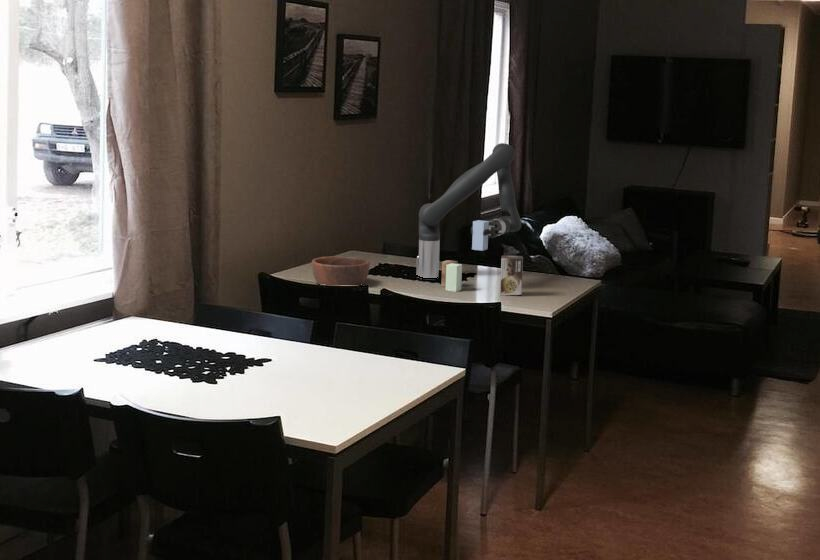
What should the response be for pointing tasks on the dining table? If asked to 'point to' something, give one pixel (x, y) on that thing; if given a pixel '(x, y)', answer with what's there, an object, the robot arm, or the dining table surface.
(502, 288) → the coffee box
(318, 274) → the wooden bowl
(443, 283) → the walnut block
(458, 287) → the sage block
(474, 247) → the slate block
